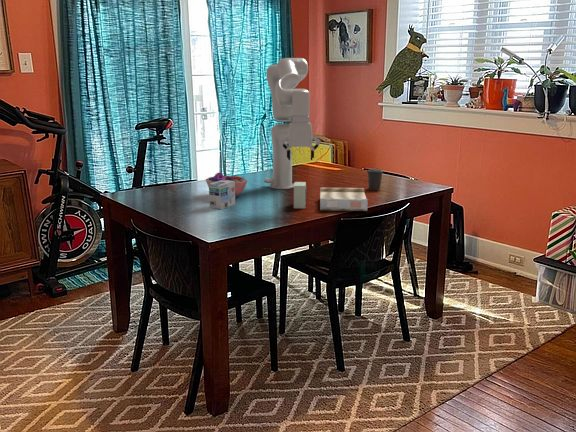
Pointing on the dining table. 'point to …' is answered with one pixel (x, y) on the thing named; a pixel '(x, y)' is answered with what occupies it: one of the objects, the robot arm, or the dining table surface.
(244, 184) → the cell model
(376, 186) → the coffee cup
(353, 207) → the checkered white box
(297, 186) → the product box
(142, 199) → the dining table surface
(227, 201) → the light bulb box
